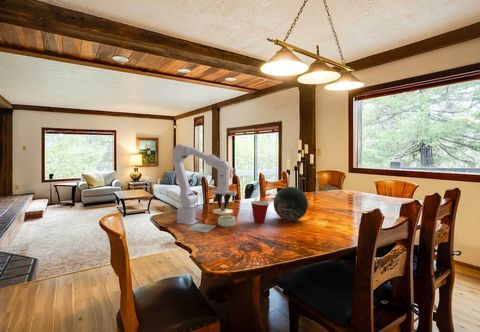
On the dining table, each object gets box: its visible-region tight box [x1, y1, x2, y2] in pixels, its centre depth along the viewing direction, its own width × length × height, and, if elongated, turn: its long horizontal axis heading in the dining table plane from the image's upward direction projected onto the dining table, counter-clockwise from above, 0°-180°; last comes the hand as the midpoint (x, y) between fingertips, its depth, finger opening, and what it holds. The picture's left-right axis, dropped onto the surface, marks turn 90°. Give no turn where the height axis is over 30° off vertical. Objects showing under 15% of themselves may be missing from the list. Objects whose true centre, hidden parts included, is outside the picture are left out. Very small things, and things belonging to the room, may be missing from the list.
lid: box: [212, 202, 234, 215], centre depth 144 cm, size 11×11×5 cm
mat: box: [185, 223, 217, 233], centre depth 139 cm, size 12×12×1 cm
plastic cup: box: [250, 200, 270, 225], centre depth 151 cm, size 11×11×12 cm
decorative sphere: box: [273, 186, 309, 222], centre depth 157 cm, size 20×20×20 cm
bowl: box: [217, 215, 236, 227], centre depth 146 cm, size 9×9×4 cm
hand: (223, 207), depth 144 cm, fingers closed on lid, 3 cm apart
